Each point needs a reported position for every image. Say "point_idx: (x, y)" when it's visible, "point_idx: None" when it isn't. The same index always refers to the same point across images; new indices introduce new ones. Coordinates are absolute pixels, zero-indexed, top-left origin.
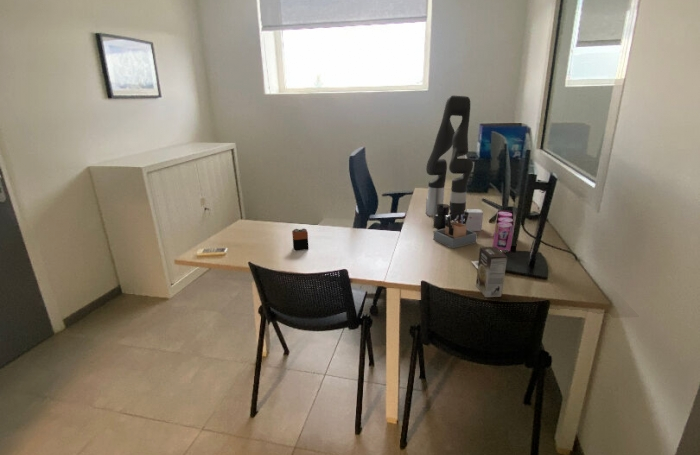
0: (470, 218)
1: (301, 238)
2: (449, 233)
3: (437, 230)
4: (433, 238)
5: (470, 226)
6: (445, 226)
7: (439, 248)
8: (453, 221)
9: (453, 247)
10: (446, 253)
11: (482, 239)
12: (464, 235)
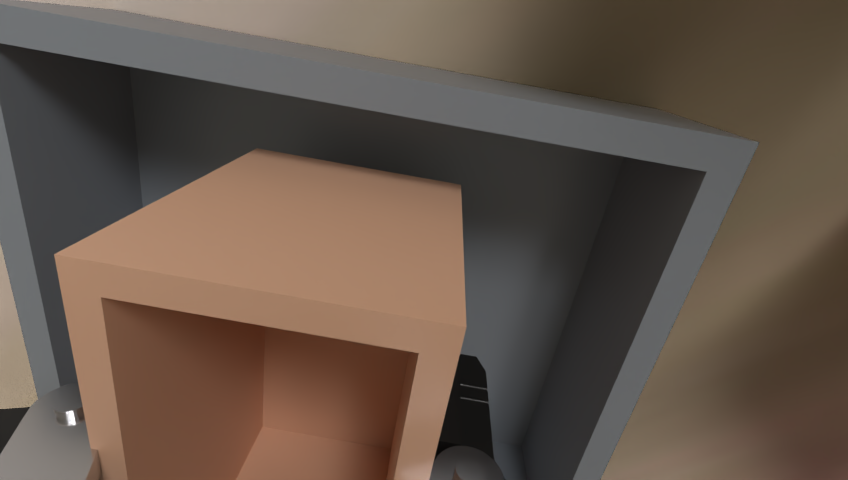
0: None
1: None
2: None
3: (49, 34)
4: (99, 8)
5: None
6: (162, 198)
7: (9, 285)
8: (419, 355)
9: None
10: (9, 403)
11: (673, 458)
12: (372, 475)
